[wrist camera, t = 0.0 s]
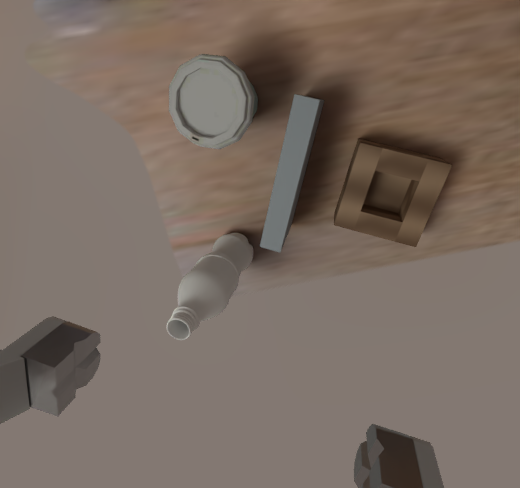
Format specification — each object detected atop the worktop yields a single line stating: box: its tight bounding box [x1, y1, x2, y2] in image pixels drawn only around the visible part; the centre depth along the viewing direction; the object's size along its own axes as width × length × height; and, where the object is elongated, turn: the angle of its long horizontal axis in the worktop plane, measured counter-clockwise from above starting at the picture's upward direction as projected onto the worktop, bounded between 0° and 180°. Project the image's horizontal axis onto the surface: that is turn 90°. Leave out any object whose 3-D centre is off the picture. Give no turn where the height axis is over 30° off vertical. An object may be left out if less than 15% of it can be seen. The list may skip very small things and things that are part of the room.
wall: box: [260, 94, 324, 252], centre depth 49 cm, size 20×3×12 cm, turn 168°
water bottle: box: [167, 233, 253, 340], centre depth 51 cm, size 7×7×25 cm
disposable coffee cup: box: [169, 54, 258, 149], centre depth 46 cm, size 11×11×15 cm
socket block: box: [334, 138, 452, 247], centre depth 50 cm, size 12×12×6 cm
